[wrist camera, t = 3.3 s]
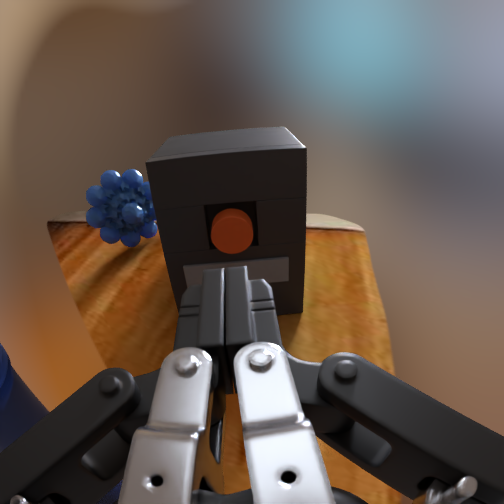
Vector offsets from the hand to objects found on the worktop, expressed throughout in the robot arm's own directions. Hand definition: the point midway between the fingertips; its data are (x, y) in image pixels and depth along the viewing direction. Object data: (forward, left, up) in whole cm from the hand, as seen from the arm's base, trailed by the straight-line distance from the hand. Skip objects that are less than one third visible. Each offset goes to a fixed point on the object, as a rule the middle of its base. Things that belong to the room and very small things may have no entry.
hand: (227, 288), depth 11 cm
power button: (+4, +12, -6) cm, 14 cm away
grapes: (-4, +33, -15) cm, 36 cm away
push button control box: (+6, +18, -15) cm, 24 cm away
